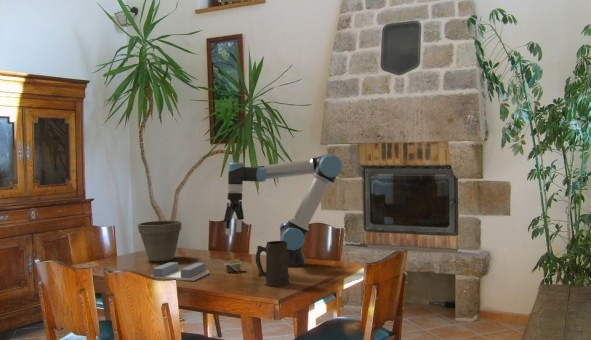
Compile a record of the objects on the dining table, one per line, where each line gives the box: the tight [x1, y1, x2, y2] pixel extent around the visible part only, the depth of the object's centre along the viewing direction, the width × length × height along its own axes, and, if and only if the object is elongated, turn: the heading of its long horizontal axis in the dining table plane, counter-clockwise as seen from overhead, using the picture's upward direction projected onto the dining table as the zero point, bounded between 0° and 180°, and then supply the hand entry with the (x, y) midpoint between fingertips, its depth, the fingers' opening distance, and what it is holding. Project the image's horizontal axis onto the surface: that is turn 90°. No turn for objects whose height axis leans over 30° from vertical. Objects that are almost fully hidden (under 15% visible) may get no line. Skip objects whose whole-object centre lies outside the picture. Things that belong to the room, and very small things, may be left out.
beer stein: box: [255, 240, 290, 287], centre depth 289 cm, size 15×11×20 cm
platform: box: [223, 258, 243, 273], centre depth 322 cm, size 12×18×7 cm, turn 126°
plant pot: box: [137, 219, 182, 262], centre depth 365 cm, size 25×25×22 cm
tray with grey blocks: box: [151, 261, 210, 282], centre depth 313 cm, size 24×18×5 cm
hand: (233, 233), depth 323 cm, fingers open, 13 cm apart
